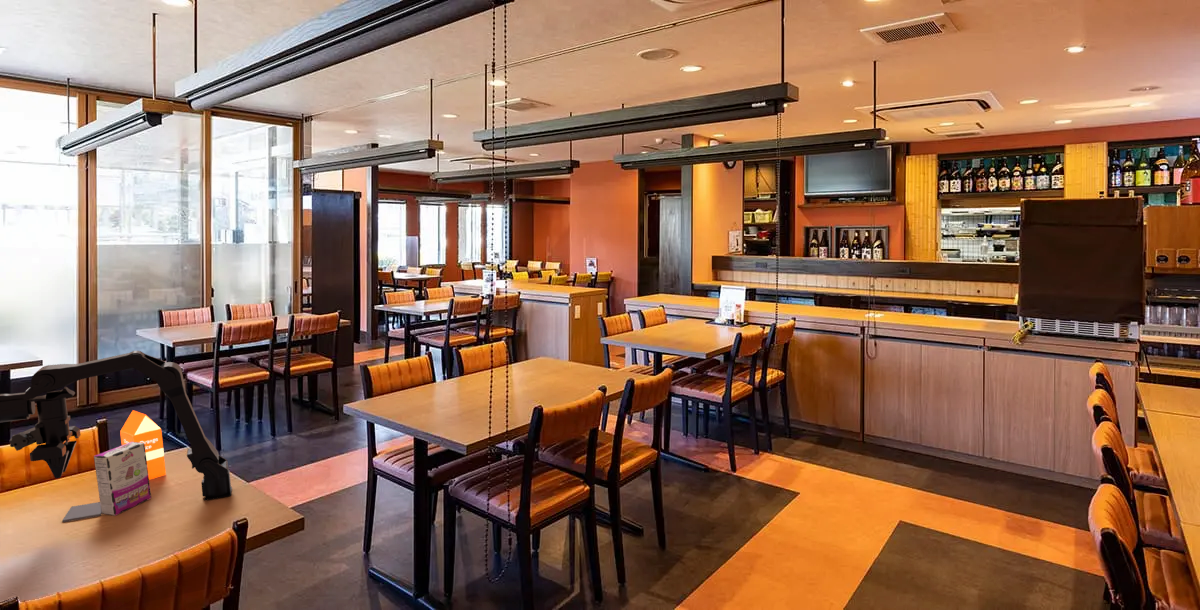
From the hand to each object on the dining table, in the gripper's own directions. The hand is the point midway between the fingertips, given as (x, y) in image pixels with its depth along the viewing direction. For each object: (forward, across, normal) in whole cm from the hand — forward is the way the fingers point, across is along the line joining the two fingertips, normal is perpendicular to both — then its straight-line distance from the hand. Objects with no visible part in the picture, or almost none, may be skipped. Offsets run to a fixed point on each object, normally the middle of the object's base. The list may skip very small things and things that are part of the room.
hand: (60, 475), depth 169 cm
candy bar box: (+13, -5, +12) cm, 18 cm away
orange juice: (+13, -28, +13) cm, 34 cm away
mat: (+13, -6, +3) cm, 14 cm away
